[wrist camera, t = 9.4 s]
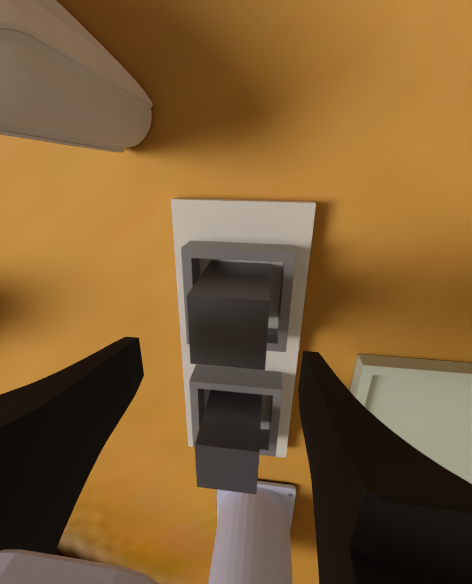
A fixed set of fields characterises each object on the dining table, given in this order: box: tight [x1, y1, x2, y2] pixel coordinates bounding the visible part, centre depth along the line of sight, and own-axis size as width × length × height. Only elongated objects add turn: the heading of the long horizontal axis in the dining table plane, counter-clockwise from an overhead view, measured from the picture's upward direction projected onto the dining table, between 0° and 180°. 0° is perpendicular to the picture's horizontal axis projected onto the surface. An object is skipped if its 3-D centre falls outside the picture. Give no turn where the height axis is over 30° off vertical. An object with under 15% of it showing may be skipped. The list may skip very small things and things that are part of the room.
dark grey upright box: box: [187, 261, 271, 370], centre depth 17 cm, size 4×4×6 cm
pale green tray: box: [350, 354, 472, 484], centre depth 23 cm, size 14×14×1 cm
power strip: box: [171, 198, 316, 495], centre depth 19 cm, size 22×9×7 cm, turn 179°
